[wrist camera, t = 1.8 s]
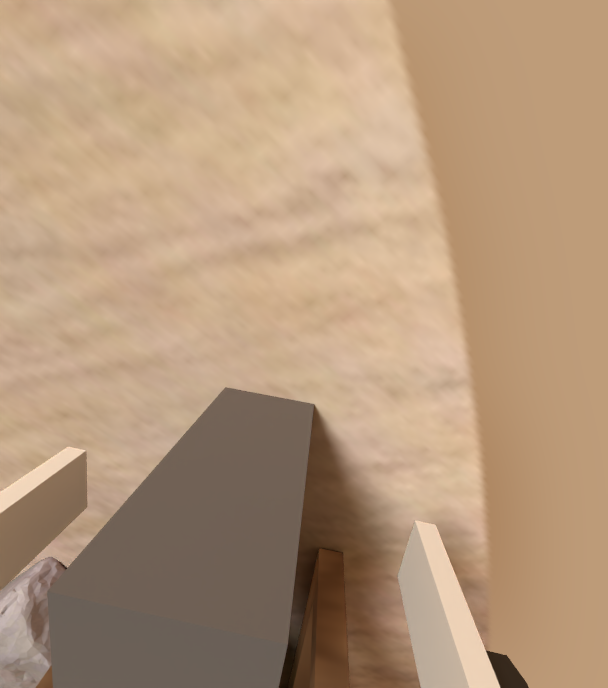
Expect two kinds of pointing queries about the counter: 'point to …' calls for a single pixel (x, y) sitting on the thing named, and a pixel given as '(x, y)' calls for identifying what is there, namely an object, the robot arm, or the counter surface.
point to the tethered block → (193, 560)
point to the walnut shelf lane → (314, 631)
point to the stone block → (26, 625)
